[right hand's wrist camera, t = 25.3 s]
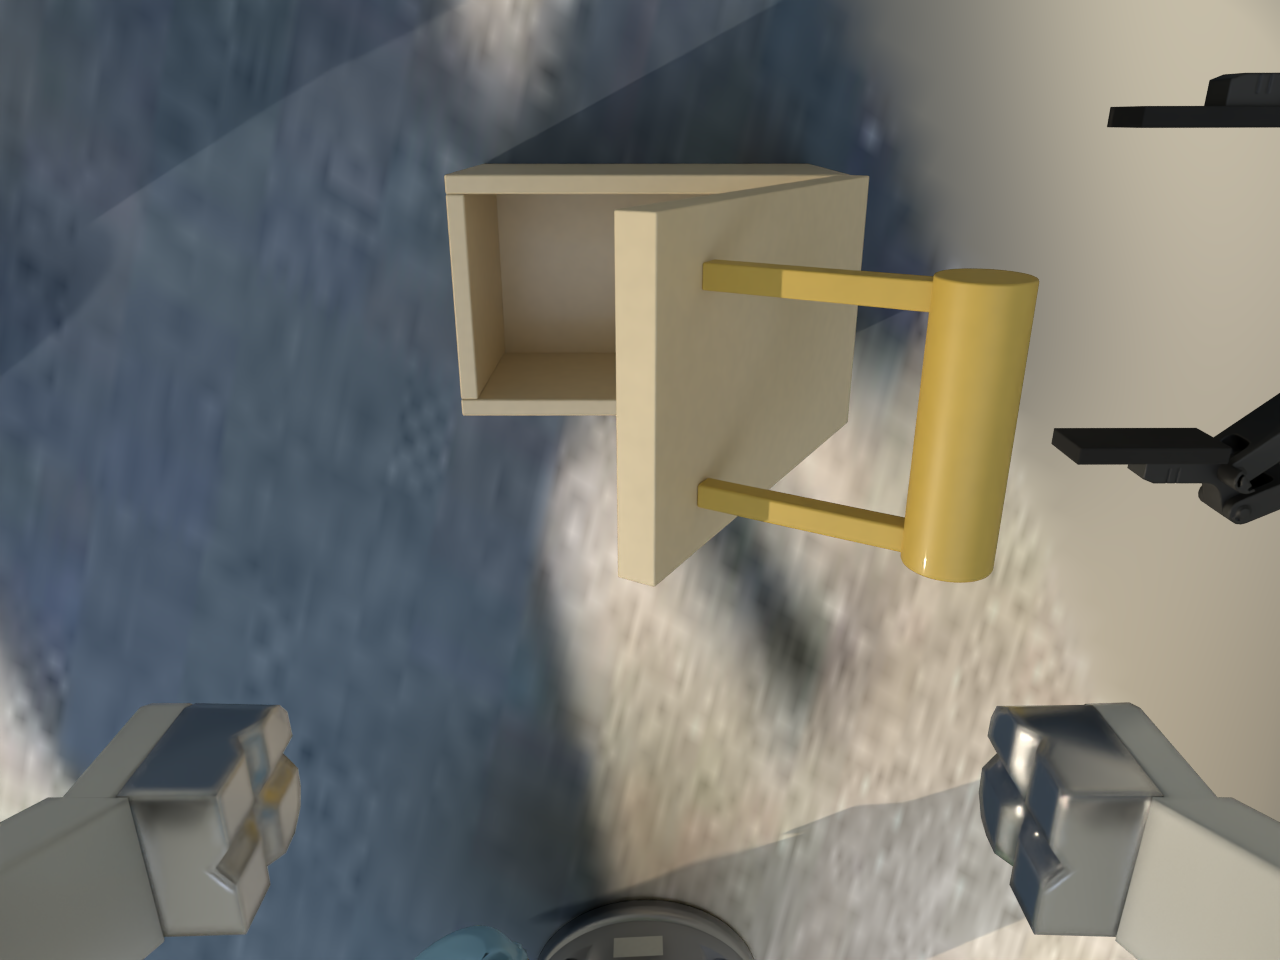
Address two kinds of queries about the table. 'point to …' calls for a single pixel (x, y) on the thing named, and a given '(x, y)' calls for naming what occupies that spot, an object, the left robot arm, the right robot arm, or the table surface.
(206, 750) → the right robot arm
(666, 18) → the table surface
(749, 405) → the lid
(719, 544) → the table surface
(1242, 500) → the left robot arm
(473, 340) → the chest
